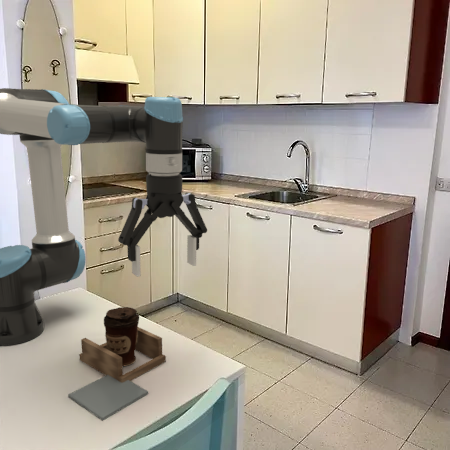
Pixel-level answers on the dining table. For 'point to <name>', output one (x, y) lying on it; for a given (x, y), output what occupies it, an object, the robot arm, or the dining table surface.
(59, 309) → the dining table surface
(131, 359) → the coffee cup
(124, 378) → the rack
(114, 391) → the coaster
